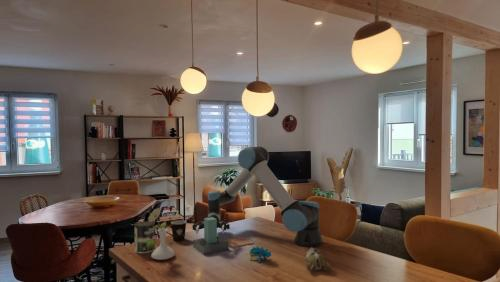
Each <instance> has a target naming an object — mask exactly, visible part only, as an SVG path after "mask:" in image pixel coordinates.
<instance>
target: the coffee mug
mask: <svg viewBox="0 0 500 282" xmlns="http://www.w3.org/2000/svg"><path fill="white" fill-rule="evenodd" d="M167 227H169V228H170V229H171V233H170V232H169V231H167V232H166V234H168V235H170V236H172V241H174V242H183V241H185V239H186V238H185V237H186V228H187V221H186V220H179V219H178V220H173V221H170V225H166V226H165V227H164V228H165V229H167Z"/></svg>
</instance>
